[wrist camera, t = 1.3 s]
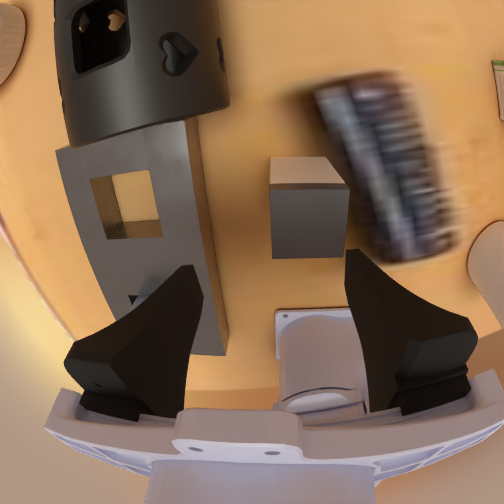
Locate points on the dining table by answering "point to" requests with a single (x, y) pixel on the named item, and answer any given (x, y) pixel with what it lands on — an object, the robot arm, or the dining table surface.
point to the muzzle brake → (136, 65)
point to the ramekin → (10, 38)
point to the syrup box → (500, 84)
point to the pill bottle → (489, 267)
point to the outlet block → (148, 232)
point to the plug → (307, 208)
